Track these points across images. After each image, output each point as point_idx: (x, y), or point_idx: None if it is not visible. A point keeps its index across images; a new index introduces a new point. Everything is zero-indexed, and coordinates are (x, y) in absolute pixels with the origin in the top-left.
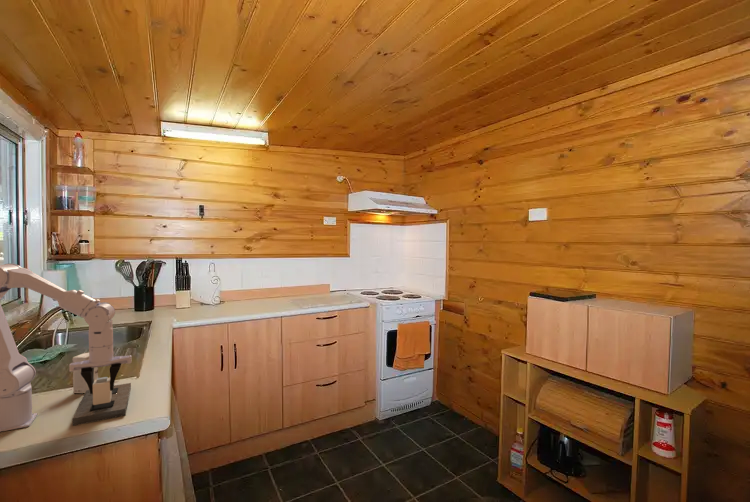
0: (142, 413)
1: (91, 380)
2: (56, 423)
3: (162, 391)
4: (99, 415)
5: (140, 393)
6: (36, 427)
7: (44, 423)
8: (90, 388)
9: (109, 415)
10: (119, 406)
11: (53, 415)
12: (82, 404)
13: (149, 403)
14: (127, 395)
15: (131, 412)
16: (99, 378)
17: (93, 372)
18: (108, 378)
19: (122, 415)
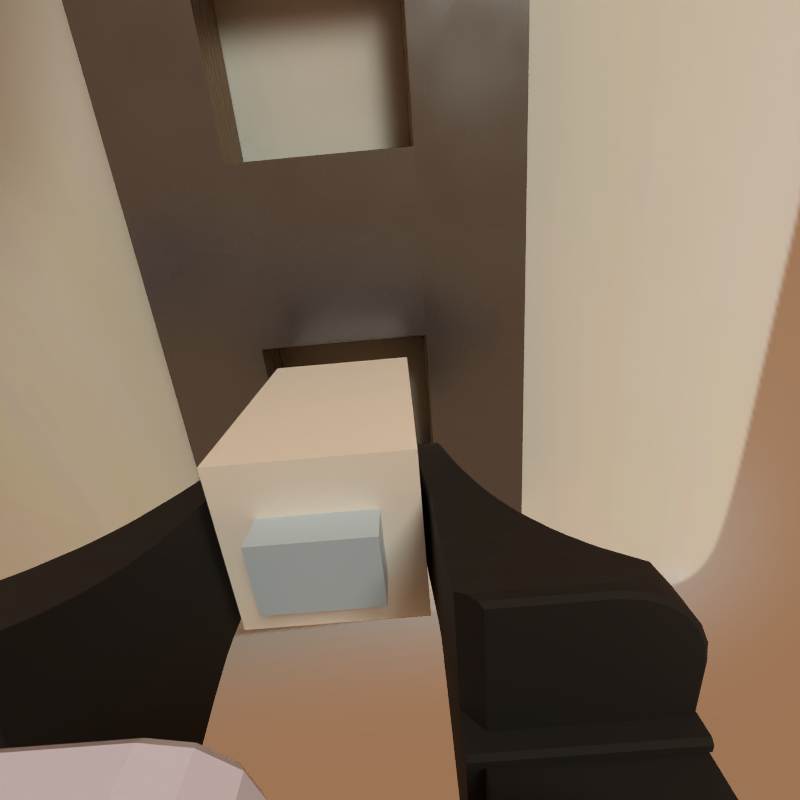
0: (601, 510)
1: (213, 695)
2: (119, 453)
3: (797, 104)
4: None
5: (605, 58)
6: (22, 465)
7: (35, 423)
8: None
9: None
10: (479, 480)
11: (12, 301)
12: (178, 320)
13: (655, 364)
14: (519, 257)
15: (539, 470)
16: (279, 573)
17: (118, 604)
18: (385, 480)
19: None
